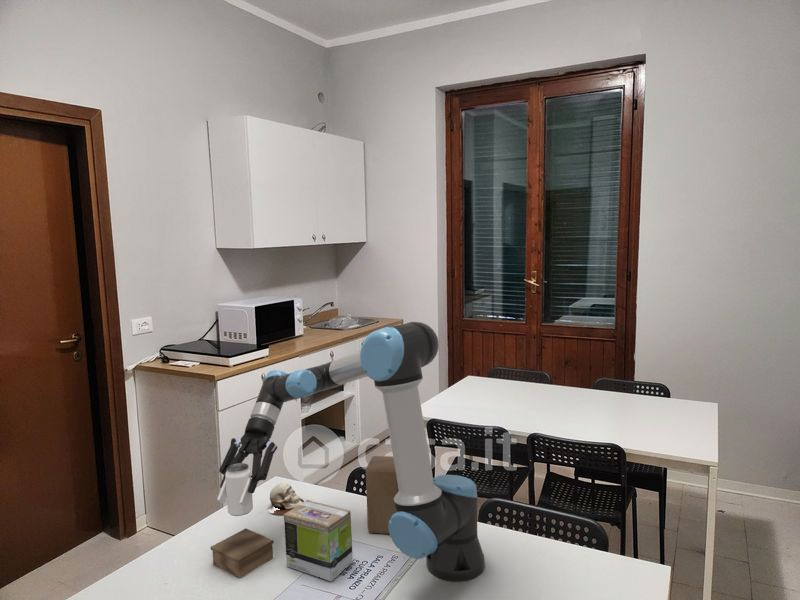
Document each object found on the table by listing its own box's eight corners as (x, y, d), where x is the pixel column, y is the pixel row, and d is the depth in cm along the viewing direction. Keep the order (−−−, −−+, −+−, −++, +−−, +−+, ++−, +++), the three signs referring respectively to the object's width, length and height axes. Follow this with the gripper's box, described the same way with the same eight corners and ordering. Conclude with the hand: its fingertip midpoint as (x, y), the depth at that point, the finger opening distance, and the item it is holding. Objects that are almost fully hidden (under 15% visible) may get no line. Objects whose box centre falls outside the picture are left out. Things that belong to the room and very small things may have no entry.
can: (256, 505, 154) (253, 462, 153) (247, 516, 148) (244, 472, 146) (233, 504, 155) (230, 462, 153) (223, 516, 148) (220, 472, 147)
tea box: (354, 563, 150) (352, 509, 149) (330, 583, 142) (328, 527, 140) (309, 548, 158) (307, 497, 156) (285, 567, 149) (282, 513, 148)
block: (401, 536, 163) (399, 469, 161) (367, 534, 165) (364, 467, 163) (406, 519, 173) (404, 455, 171) (374, 517, 175) (372, 454, 173)
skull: (312, 496, 188) (302, 483, 181) (301, 527, 182) (290, 515, 174) (280, 491, 192) (269, 477, 184) (268, 521, 185) (256, 509, 178)
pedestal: (274, 557, 154) (273, 540, 153) (239, 579, 144) (238, 560, 144) (246, 545, 161) (245, 528, 160) (211, 564, 151) (210, 546, 151)
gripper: (297, 430, 161) (269, 512, 147) (239, 425, 167) (207, 503, 153) (286, 418, 155) (257, 502, 141) (227, 413, 161) (193, 493, 147)
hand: (231, 502), depth 147 cm, fingers closed on can, 6 cm apart
